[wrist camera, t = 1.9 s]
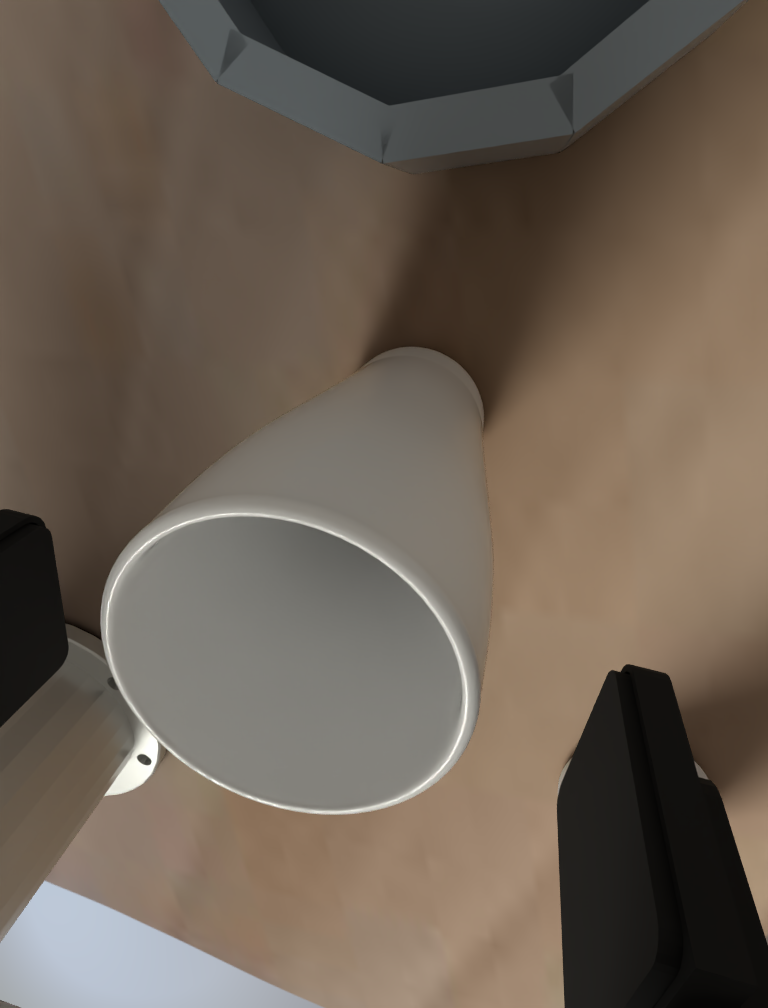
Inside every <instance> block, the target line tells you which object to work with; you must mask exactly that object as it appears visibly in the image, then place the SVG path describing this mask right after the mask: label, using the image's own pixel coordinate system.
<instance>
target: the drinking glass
mask: <svg viewBox="0 0 768 1008" xmlns="http://www.w3.org/2000/svg"><path fill="white" fill-rule="evenodd" d="M483 429H484V408H483V403H482V399H481V396H480V393H479V391H478V388H477V387H476V385H475V383H474V381H473V380H472V378H471V377H470V375H469V374H468V373H467V372H466V370H465V369H464V368H463V367H462V366H461V365H459V364H458V363H457V362H456V361H454V360H453V359H451V358H450V357H448V356H446V355H444V354H442V353H440V352H438V351H435V350H432V349H428V348H423V347H401V348H396V349H391V350H388V351H386V352H383V353H381V354H379V355H377V356H376V357H374V358H372V359H371V360H369V361H368V362H367V363H366V364H364V365H363V366H362V367H361V368H360V369H359V370H358V371H357V372H355V373H354V374H352V375H350V376H349V377H347V378H345V379H344V380H342V381H340V382H339V383H337V384H335V385H333V386H332V387H330V388H328V389H327V390H325V391H323V392H321V393H320V394H318V395H316V396H314V397H313V398H311V399H309V400H307V401H306V402H304V403H302V404H300V405H299V406H297V407H295V408H293V409H292V410H290V411H288V412H286V413H285V414H283V415H281V416H279V417H278V418H276V419H274V420H273V421H271V422H269V423H268V424H266V425H264V426H263V427H261V428H260V429H258V430H257V431H255V432H254V433H252V434H251V435H249V436H248V437H247V438H245V439H244V440H242V441H241V442H240V443H238V444H237V445H236V446H234V447H233V448H232V449H230V450H229V451H228V452H226V453H225V454H224V455H223V456H221V457H220V458H219V459H217V460H216V461H215V462H214V463H213V464H211V465H210V466H209V467H208V468H207V469H205V470H204V471H203V472H202V473H201V474H200V475H199V476H197V477H196V478H195V479H194V480H193V481H192V482H191V483H190V484H189V485H188V486H186V487H185V488H184V489H183V490H182V491H181V492H180V493H179V494H178V495H177V496H176V497H175V498H174V499H173V500H172V501H171V502H170V503H169V504H168V505H167V506H166V507H164V508H163V509H162V510H161V511H160V512H159V513H158V514H157V515H156V516H155V517H154V518H153V519H152V520H151V521H150V522H149V523H148V524H147V525H146V526H145V527H144V528H143V529H142V530H141V531H140V532H138V533H137V534H136V535H135V536H134V537H133V538H132V539H131V540H130V542H129V543H128V544H127V545H126V547H125V548H124V549H123V550H122V552H121V553H120V555H119V556H118V558H117V560H116V561H115V563H114V565H113V566H112V569H111V571H110V574H109V576H108V578H107V581H106V584H105V588H104V592H103V596H102V603H101V614H100V626H101V636H102V643H103V647H104V652H105V656H106V659H107V662H108V665H109V669H110V671H111V673H112V676H113V678H114V680H115V683H116V685H117V687H118V688H119V690H120V692H121V694H122V696H123V698H124V699H125V701H126V702H127V704H128V705H129V707H130V709H131V710H132V711H133V713H134V714H135V715H136V717H137V718H138V719H139V721H140V722H141V723H142V724H143V725H144V727H145V728H146V729H147V730H148V731H149V732H150V733H151V735H152V736H153V737H154V738H155V739H156V740H157V741H158V742H159V743H160V744H162V745H163V746H164V747H165V748H166V749H167V750H168V751H169V752H171V753H172V754H173V755H174V756H175V757H176V758H178V759H179V760H180V761H182V762H183V763H184V764H186V765H187V766H188V767H190V768H191V769H193V770H194V771H196V772H197V773H199V774H200V775H202V776H204V777H205V778H207V779H209V780H210V781H212V782H214V783H216V784H218V785H220V786H222V787H224V788H226V789H228V790H230V791H232V792H234V793H236V794H239V795H241V796H244V797H246V798H249V799H252V800H254V801H257V802H260V803H263V804H267V805H270V806H274V807H277V808H282V809H287V810H291V811H297V812H304V813H312V814H327V815H342V814H356V813H363V812H370V811H375V810H379V809H383V808H387V807H390V806H393V805H396V804H399V803H402V802H404V801H406V800H408V799H410V798H413V797H415V796H417V795H418V794H420V793H422V792H423V791H425V790H427V789H428V788H430V787H431V786H432V785H434V784H435V783H436V782H438V781H439V780H440V779H441V778H442V777H443V776H444V775H445V774H446V773H448V772H449V771H450V770H451V768H452V767H453V766H454V765H455V763H456V762H457V761H458V760H459V758H460V757H461V755H462V754H463V752H464V750H465V749H466V747H467V745H468V743H469V741H470V739H471V737H472V734H473V732H474V729H475V726H476V722H477V719H478V715H479V708H480V702H481V691H482V685H483V679H484V672H485V665H486V659H487V652H488V645H489V637H490V628H491V617H492V604H493V577H494V556H493V538H492V526H491V515H490V506H489V496H488V487H487V478H486V468H485V458H484V446H483Z"/></svg>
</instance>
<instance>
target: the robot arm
mask: <svg viewBox="0 0 768 1008" xmlns="http://www.w3.org/2000/svg"><path fill="white" fill-rule="evenodd" d="M165 752H166V748H165V747H164V746H163V745H162V744H160V743H159V742H158V741H157V740H156V739H155V738H154V737H153V736H152V735H151V733H150V732H149V731H148V730H147V729H146V728H145V727H144V725H143V724H142V723H141V722H140V721H139V719H138V718H137V717H136V715H135V714H134V713H133V711H132V710H131V709H130V707H129V705H128V704H127V702H126V701H125V699H124V698H123V696H122V694H121V692H120V690H119V688H118V687H117V685H116V683H115V680H114V678H113V676H112V673H111V671H110V669H109V665H108V662H107V659H106V656H105V652H104V647H103V643H102V641H101V640H100V639H98V638H97V637H95V636H93V635H91V634H89V633H87V632H85V631H83V630H81V629H79V628H77V627H74V626H72V625H69V624H65V619H64V612H63V606H62V599H61V593H60V586H59V580H58V573H57V567H56V560H55V554H54V547H53V541H52V535H51V532H50V531H49V530H48V529H47V528H46V527H45V524H44V522H43V521H42V519H41V518H39V517H36V516H33V515H29V514H25V513H21V512H17V511H13V510H9V509H2V510H0V942H1V941H2V940H3V938H4V937H5V935H6V934H7V933H8V931H9V930H10V928H11V927H12V925H13V924H14V923H15V921H16V920H17V918H18V917H19V916H20V914H21V913H22V911H23V910H24V908H25V907H26V906H27V904H28V903H29V901H30V900H31V899H32V897H33V896H34V894H35V893H36V891H37V890H38V889H39V887H40V886H41V884H42V883H43V882H44V880H45V879H46V877H47V876H48V875H49V873H50V872H51V870H52V869H53V867H54V866H55V865H56V863H57V862H58V860H59V859H60V858H61V856H62V855H63V853H64V852H65V850H66V849H67V848H68V846H69V845H70V843H71V842H72V841H73V839H74V838H75V836H76V835H77V833H78V832H79V831H80V829H81V828H82V826H83V825H84V824H85V822H86V821H87V819H88V818H89V816H90V815H91V814H92V812H93V811H94V809H95V808H96V807H97V805H98V804H99V802H100V801H101V800H102V798H103V797H104V796H107V795H116V794H122V793H125V792H128V791H132V790H134V789H136V788H138V787H139V786H141V785H143V784H144V783H146V782H147V780H148V779H149V778H150V777H151V776H152V775H153V774H154V772H155V771H156V769H157V767H158V766H159V764H160V762H161V761H162V759H163V758H164V756H165ZM557 822H558V848H559V873H560V899H561V924H562V950H563V975H564V1001H565V1008H768V945H767V942H766V938H765V935H764V932H763V929H762V926H761V922H760V919H759V916H758V913H757V910H756V906H755V903H754V900H753V897H752V894H751V891H750V887H749V884H748V881H747V878H746V875H745V871H744V868H743V865H742V862H741V859H740V855H739V852H738V849H737V846H736V843H735V840H734V836H733V833H732V830H731V827H730V824H729V820H728V817H727V814H726V811H725V808H724V805H723V801H722V798H721V796H720V794H719V791H718V789H717V787H716V786H715V785H714V784H713V782H712V781H711V780H708V779H704V778H701V777H698V773H697V770H696V766H695V763H694V759H693V756H692V752H691V749H690V745H689V742H688V738H687V735H686V731H685V728H684V724H683V721H682V717H681V714H680V710H679V707H678V703H677V700H676V696H675V693H674V689H673V686H672V682H671V680H670V677H669V676H668V675H667V674H666V673H662V672H658V671H654V670H650V669H646V668H642V667H638V666H634V665H630V664H627V665H625V666H624V667H623V669H622V671H621V672H618V671H614V670H611V671H610V672H609V673H608V675H607V677H606V679H605V682H604V684H603V686H602V689H601V691H600V693H599V696H598V698H597V700H596V703H595V705H594V707H593V710H592V712H591V714H590V717H589V719H588V721H587V724H586V726H585V729H584V731H583V733H582V736H581V738H580V740H579V743H578V745H577V747H576V750H575V752H574V754H573V757H572V759H571V761H570V764H569V766H568V768H567V771H566V773H565V775H564V778H563V780H562V782H561V785H560V789H559V793H558V800H557ZM0 1008H20V1007H18V1006H15V1005H12V1004H9V1003H7V1002H4V1001H1V1000H0Z"/></svg>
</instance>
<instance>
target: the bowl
mask: <svg viewBox="0 0 768 1008" xmlns="http://www.w3.org/2000/svg"><path fill="white" fill-rule="evenodd" d="M747 1H748V0H159V2H160V3H161V4H162V6H163V7H164V9H165V10H166V12H167V13H168V14H169V16H170V17H171V19H172V20H173V22H174V23H175V25H176V26H177V27H178V29H179V30H180V32H181V33H182V35H183V36H184V37H185V39H186V40H187V42H188V43H189V45H190V46H191V47H192V49H193V50H194V52H195V53H196V55H197V56H198V58H199V59H200V60H201V62H202V63H203V65H204V66H205V68H206V69H207V70H208V72H209V73H210V75H211V76H212V78H213V79H214V81H215V82H217V84H219V85H221V86H223V87H225V88H228V89H230V90H232V91H234V92H236V93H238V94H240V95H242V96H244V97H246V98H248V99H250V100H252V101H254V102H256V103H258V104H260V105H263V106H265V107H267V108H269V109H271V110H273V111H275V112H277V113H279V114H281V115H283V116H285V117H287V118H289V119H291V120H293V121H295V122H297V123H300V124H302V125H304V126H306V127H308V128H310V129H312V130H314V131H316V132H318V133H320V134H322V135H324V136H326V137H328V138H330V139H332V140H335V141H337V142H339V143H341V144H343V145H345V146H347V147H349V148H351V149H353V150H355V151H357V152H359V153H361V154H363V155H365V156H367V157H370V158H372V159H374V160H376V161H378V162H380V163H382V164H385V165H388V166H391V167H393V168H396V169H399V170H402V171H405V172H407V173H410V174H419V173H426V172H433V171H439V170H446V169H453V168H460V167H466V166H473V165H480V164H486V163H493V162H500V161H506V160H513V159H520V158H527V157H533V156H540V155H547V154H553V153H560V151H563V150H564V149H566V148H567V147H568V146H570V145H571V144H572V143H573V142H575V141H576V140H577V139H579V138H580V137H581V136H582V135H584V134H585V133H586V132H587V131H589V130H590V129H591V128H593V127H594V126H595V125H596V124H598V123H599V122H600V121H602V120H603V119H604V118H605V117H607V116H608V115H609V114H610V113H612V112H613V111H614V110H616V109H617V108H618V107H619V106H621V105H622V104H623V103H625V102H626V101H627V100H628V99H630V98H631V97H632V96H633V95H635V94H636V93H637V92H639V91H640V90H641V89H642V88H644V87H645V86H646V85H648V84H649V83H650V82H651V81H653V80H654V79H655V78H656V77H658V76H659V75H660V74H662V73H663V72H664V71H665V70H667V69H668V68H669V67H671V66H672V65H673V64H674V63H676V62H677V61H678V60H679V59H681V58H682V57H683V56H685V55H686V54H687V53H688V52H690V51H691V50H692V49H694V48H695V47H696V46H697V45H699V44H700V43H701V42H702V41H704V40H705V39H706V38H708V37H709V36H710V35H711V34H712V33H714V32H715V31H716V30H717V29H718V28H719V27H720V26H721V25H722V24H723V23H724V22H726V21H727V20H728V19H729V18H730V17H731V16H732V15H733V14H734V13H735V12H736V11H737V10H739V9H740V8H741V7H742V6H743V5H744V4H745V3H746V2H747Z"/></svg>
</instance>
